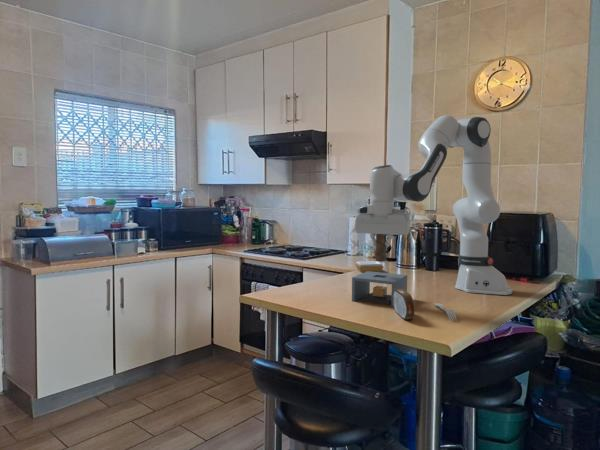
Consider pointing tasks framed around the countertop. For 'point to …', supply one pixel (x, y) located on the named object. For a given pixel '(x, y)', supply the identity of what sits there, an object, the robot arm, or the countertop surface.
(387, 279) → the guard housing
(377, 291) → the button
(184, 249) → the countertop surface
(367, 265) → the soap dish
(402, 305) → the tin
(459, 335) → the countertop surface
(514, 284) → the countertop surface
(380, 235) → the brown wooden bar
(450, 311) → the fork
